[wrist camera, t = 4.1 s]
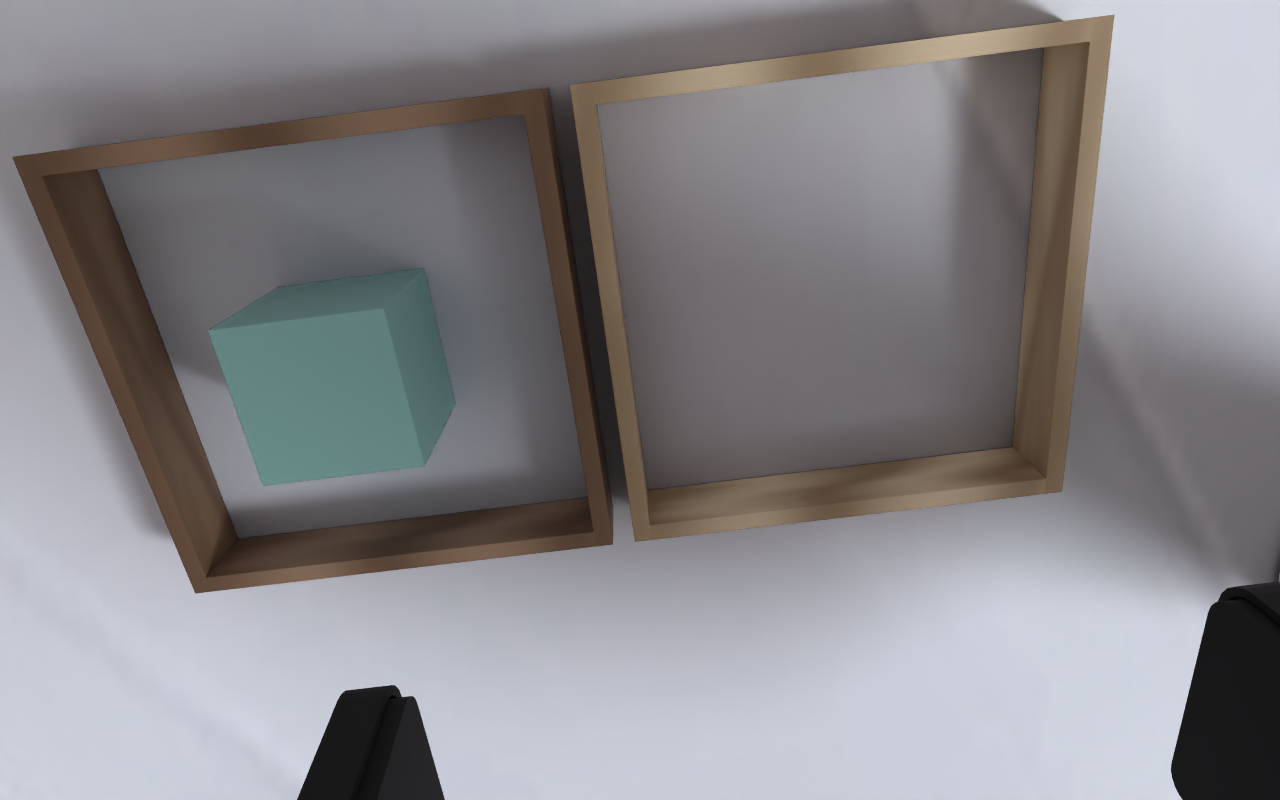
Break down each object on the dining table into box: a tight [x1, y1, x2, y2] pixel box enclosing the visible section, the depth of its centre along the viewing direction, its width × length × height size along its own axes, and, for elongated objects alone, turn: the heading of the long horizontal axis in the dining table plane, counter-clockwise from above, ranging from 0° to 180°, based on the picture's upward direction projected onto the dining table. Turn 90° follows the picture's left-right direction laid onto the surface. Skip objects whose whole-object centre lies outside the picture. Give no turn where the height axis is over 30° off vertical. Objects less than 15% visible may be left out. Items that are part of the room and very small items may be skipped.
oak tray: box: [570, 15, 1114, 542], centre depth 25 cm, size 15×15×2 cm
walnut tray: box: [12, 88, 613, 593], centre depth 26 cm, size 15×15×2 cm
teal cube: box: [208, 268, 455, 486], centre depth 25 cm, size 5×5×5 cm
